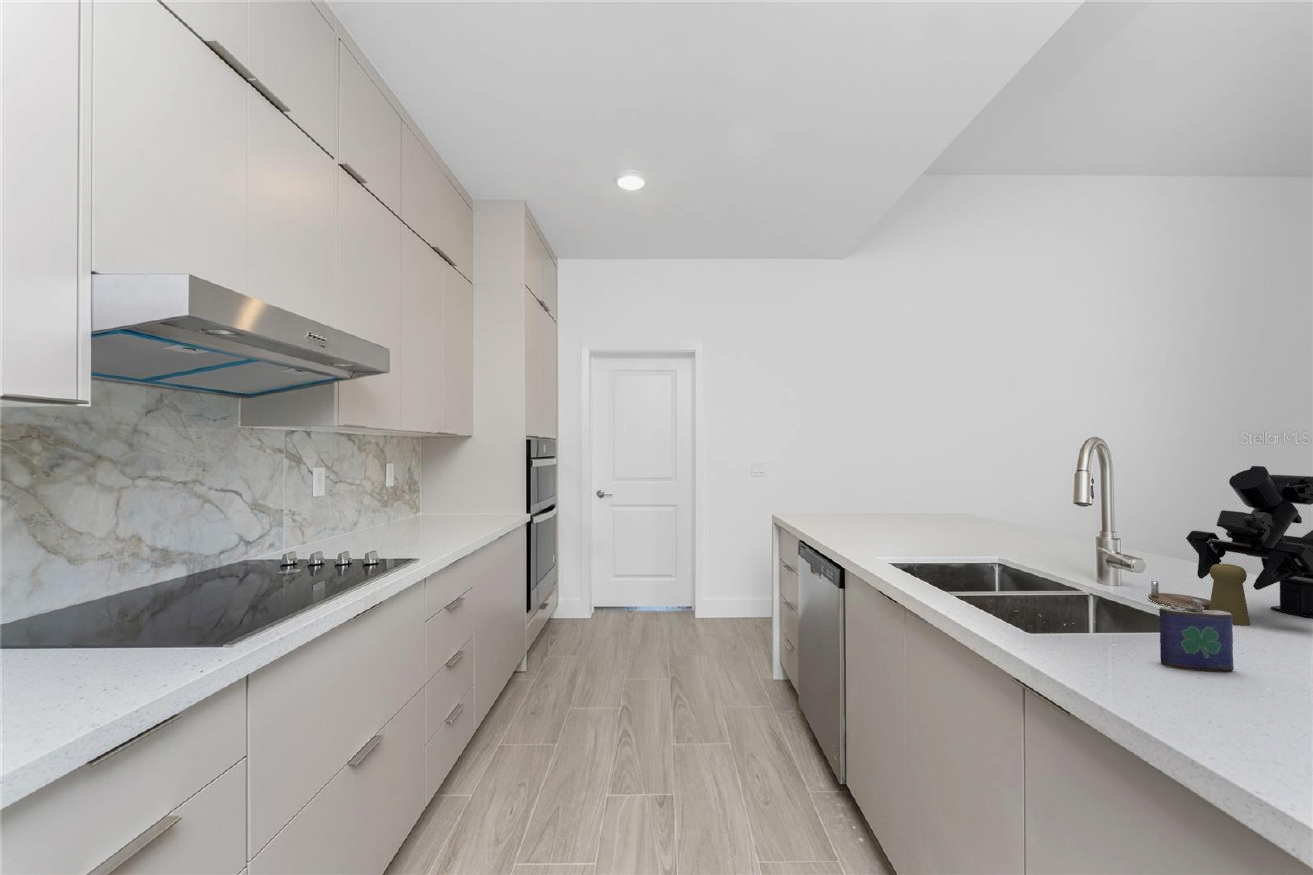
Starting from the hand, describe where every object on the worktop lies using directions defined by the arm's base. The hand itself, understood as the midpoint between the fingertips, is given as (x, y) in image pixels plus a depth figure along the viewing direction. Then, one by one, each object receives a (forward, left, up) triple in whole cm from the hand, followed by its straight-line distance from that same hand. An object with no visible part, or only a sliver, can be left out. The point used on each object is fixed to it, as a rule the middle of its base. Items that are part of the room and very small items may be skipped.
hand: (1226, 582), depth 114 cm
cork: (0, 0, -8) cm, 8 cm away
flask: (+33, +14, -8) cm, 36 cm away
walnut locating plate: (-5, -11, -7) cm, 14 cm away
